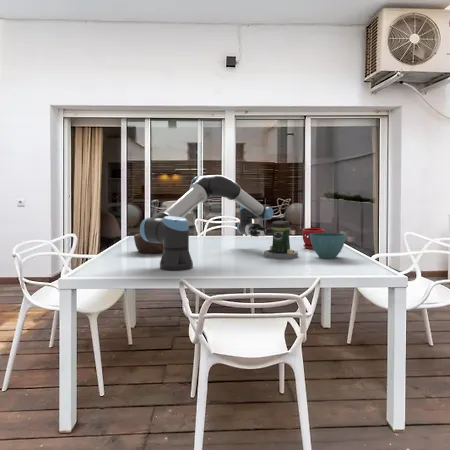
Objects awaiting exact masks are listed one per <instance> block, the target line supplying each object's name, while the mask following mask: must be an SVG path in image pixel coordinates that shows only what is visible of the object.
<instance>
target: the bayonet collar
mask: <svg viewBox="0 0 450 450" xmlns="http://www.w3.org/2000/svg"><path fill="white" fill-rule="evenodd" d="M263 257H265V258H267V259H273V260H274V259H276V260H288V259H289V260H290V259H291V260H292V259H296V258H298V257H299V251H298V250H295V249H291V248H290V249H289V250H287V254H277V253H272V245H270V247H269V249H266V250H264V251H263Z"/></svg>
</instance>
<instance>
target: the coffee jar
mask: <svg viewBox="0 0 450 450" xmlns="http://www.w3.org/2000/svg"><path fill="white" fill-rule="evenodd" d="M271 228H272V231H273V233H272V244H271V246H272V253H277V254H287V250H289V249H291V242H290V231H291V223H290V221H289V220H274V221H272V224H271Z"/></svg>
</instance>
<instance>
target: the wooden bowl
mask: <svg viewBox="0 0 450 450" xmlns="http://www.w3.org/2000/svg"><path fill="white" fill-rule="evenodd" d="M133 239H134V245H135V248H136V249H137V251H138V253H141V254H148V255H153V254H155V255H157V254H163V243H151V242H147V241H145V240H144V239H143V238H142V236H141V234H140V233H136V234H134V236H133Z"/></svg>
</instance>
